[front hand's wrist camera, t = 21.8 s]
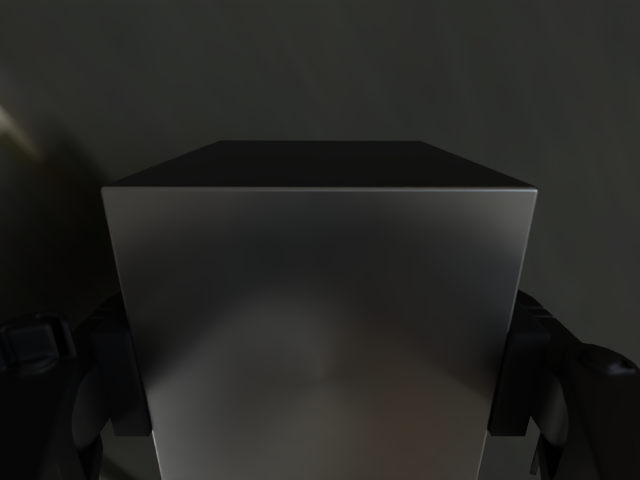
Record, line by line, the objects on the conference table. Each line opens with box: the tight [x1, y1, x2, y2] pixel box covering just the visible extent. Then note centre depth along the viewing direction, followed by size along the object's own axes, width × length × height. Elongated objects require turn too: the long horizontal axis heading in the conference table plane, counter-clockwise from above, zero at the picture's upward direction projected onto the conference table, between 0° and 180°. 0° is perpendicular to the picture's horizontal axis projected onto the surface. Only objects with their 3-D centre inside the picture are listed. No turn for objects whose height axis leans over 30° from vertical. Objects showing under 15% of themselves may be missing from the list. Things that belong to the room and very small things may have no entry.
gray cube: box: [101, 141, 538, 480], centre depth 12 cm, size 8×8×8 cm
